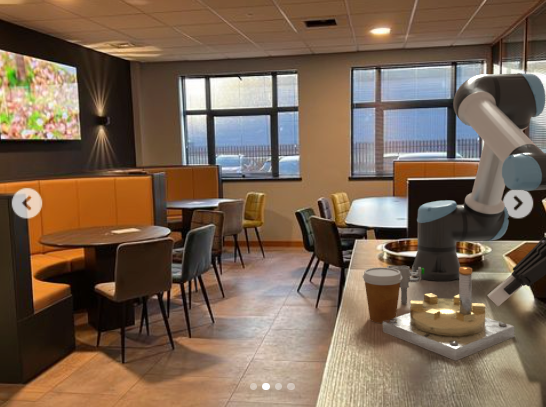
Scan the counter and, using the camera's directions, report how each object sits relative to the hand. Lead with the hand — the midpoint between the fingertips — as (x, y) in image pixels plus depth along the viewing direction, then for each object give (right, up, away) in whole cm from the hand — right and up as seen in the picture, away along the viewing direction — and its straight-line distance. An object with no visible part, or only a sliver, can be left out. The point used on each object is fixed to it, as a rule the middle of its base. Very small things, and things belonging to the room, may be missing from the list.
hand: (492, 300), depth 109 cm
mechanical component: (-11, -7, +31) cm, 34 cm away
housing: (-7, -9, +9) cm, 14 cm away
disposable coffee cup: (-19, -8, +20) cm, 29 cm away
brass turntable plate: (-7, -6, +8) cm, 13 cm away
